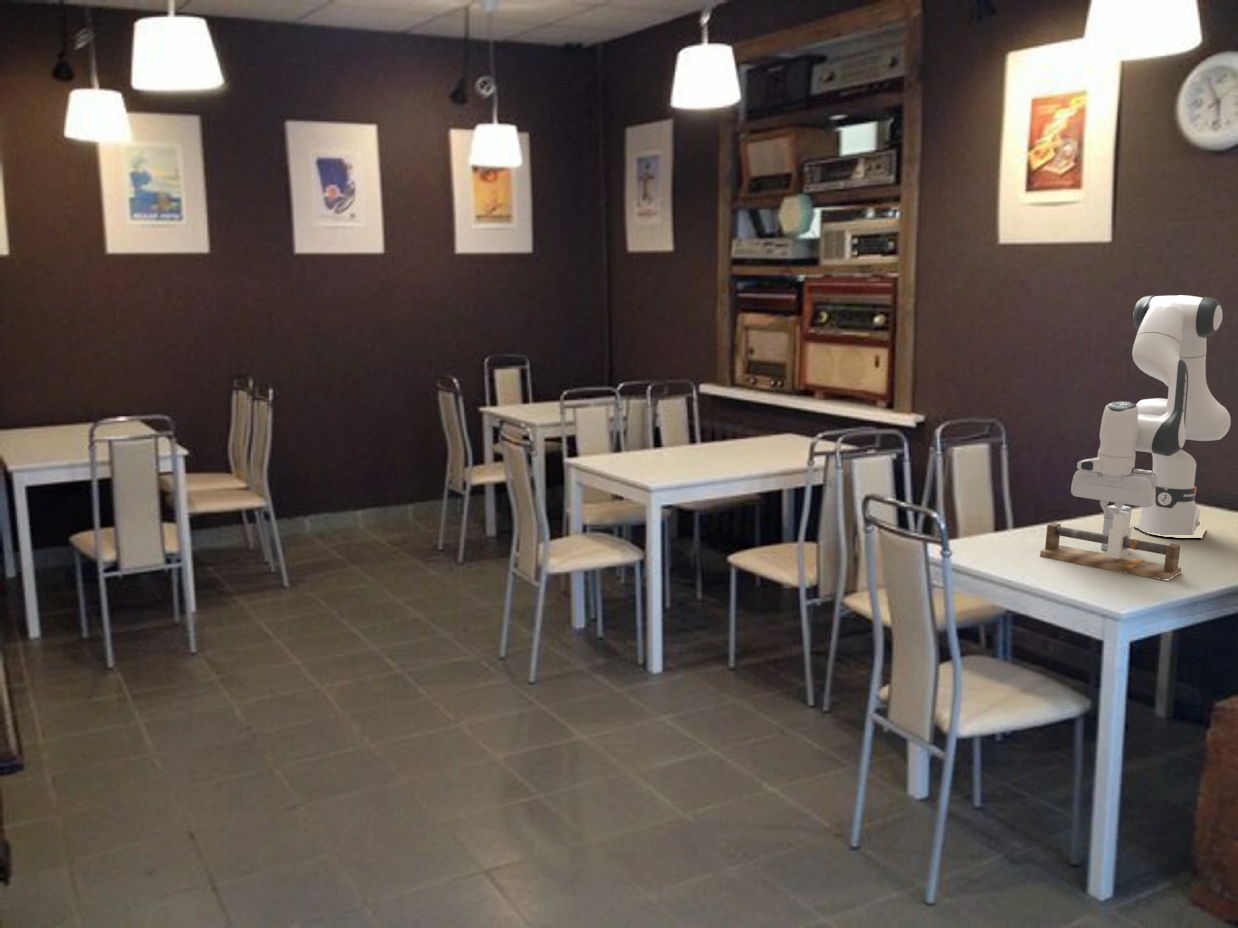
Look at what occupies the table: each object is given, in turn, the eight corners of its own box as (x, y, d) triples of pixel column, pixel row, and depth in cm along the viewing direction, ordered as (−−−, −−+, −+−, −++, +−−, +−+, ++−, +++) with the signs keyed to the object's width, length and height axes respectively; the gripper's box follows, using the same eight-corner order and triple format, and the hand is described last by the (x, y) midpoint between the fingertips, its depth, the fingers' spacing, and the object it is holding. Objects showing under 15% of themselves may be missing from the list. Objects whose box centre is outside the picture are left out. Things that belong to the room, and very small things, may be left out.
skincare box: (1114, 552, 304) (1119, 509, 302) (1100, 548, 307) (1104, 506, 305) (1127, 549, 307) (1132, 506, 305) (1113, 546, 311) (1118, 503, 309)
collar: (1106, 556, 287) (1110, 513, 285) (1116, 551, 293) (1121, 509, 291) (1118, 558, 285) (1123, 515, 283) (1128, 553, 291) (1133, 511, 289)
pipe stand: (1040, 556, 298) (1042, 526, 297) (1055, 549, 305) (1057, 521, 304) (1167, 581, 277) (1171, 549, 275) (1180, 573, 284) (1184, 542, 282)
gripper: (1162, 470, 282) (1156, 523, 285) (1080, 459, 296) (1075, 510, 298) (1153, 473, 278) (1148, 527, 280) (1071, 461, 291) (1066, 513, 294)
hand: (1110, 518), depth 289 cm, fingers closed
